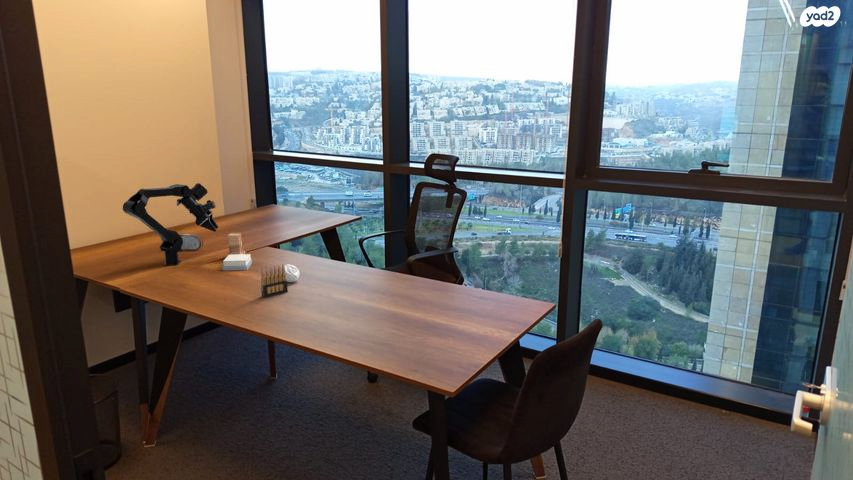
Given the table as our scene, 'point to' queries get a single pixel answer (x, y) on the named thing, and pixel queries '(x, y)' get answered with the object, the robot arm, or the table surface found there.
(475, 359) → the table surface
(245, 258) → the white square slab
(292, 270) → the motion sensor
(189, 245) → the tin
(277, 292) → the ammunition clip
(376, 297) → the table surface
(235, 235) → the pillar
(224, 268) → the tower base
